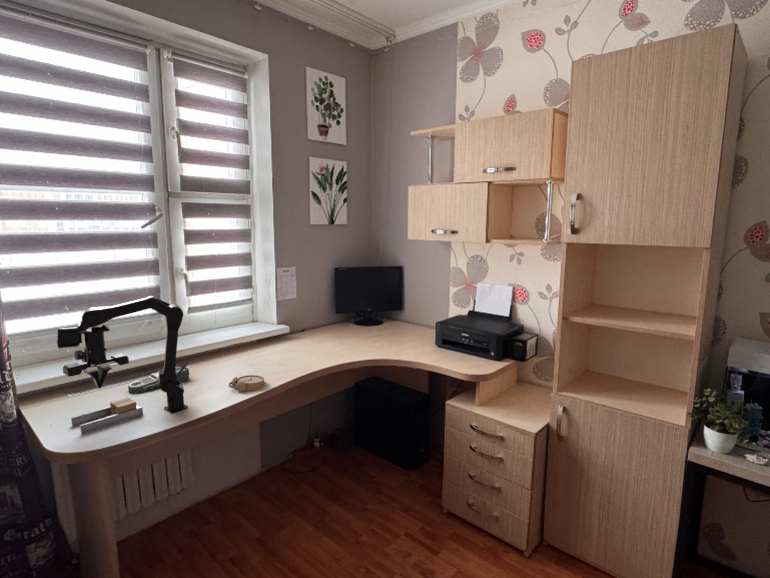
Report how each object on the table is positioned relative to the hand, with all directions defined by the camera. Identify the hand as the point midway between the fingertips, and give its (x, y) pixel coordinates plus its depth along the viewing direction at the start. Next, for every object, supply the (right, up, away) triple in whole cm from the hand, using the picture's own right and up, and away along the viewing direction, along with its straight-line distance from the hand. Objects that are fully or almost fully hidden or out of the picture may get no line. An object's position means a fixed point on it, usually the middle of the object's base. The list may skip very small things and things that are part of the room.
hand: (99, 388), depth 159 cm
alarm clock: (+41, -8, +35) cm, 54 cm away
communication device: (+2, -7, +38) cm, 39 cm away
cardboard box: (+5, -12, +7) cm, 15 cm away
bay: (+1, -12, +4) cm, 13 cm away
